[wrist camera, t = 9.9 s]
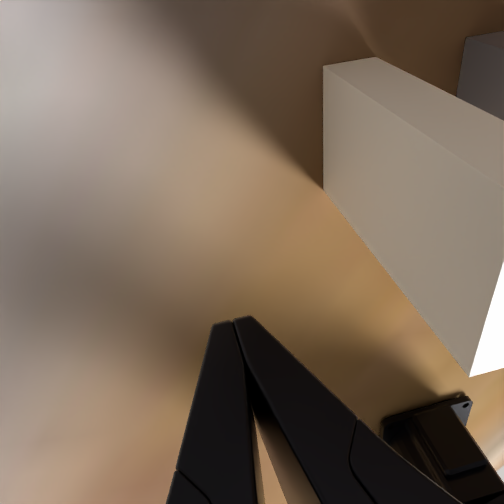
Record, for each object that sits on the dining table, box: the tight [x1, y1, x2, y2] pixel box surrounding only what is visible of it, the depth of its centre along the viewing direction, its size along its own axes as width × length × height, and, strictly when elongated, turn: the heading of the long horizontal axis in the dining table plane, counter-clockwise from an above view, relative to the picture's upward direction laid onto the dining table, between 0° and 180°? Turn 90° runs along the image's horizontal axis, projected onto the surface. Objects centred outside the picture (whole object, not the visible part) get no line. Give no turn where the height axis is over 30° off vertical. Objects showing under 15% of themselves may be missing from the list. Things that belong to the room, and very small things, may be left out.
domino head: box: [323, 57, 504, 377], centre depth 14 cm, size 2×5×10 cm, turn 6°
